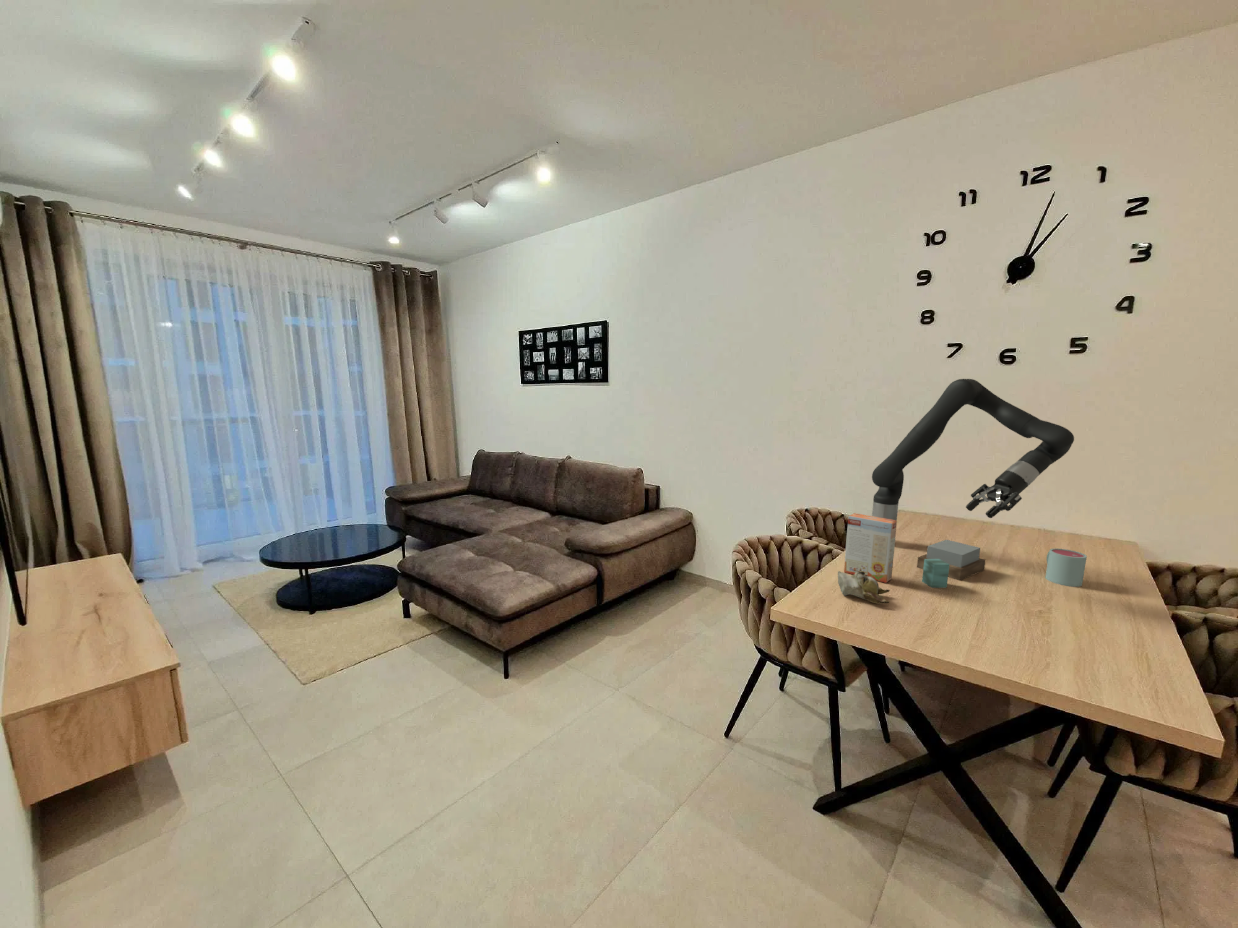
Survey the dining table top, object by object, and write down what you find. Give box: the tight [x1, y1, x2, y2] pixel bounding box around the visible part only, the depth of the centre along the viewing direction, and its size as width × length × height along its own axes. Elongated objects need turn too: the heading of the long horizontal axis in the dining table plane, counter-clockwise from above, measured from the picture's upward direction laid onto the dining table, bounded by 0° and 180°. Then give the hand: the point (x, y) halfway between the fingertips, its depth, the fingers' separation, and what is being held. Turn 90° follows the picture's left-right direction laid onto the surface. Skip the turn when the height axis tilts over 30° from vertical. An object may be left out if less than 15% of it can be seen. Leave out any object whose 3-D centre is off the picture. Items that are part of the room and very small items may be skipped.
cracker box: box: [843, 512, 898, 584], centre depth 167 cm, size 14×6×21 cm, turn 45°
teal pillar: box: [921, 559, 950, 589], centre depth 161 cm, size 5×5×8 cm
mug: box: [1045, 548, 1088, 588], centre depth 166 cm, size 14×9×10 cm
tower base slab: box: [916, 553, 986, 582], centre depth 175 cm, size 14×18×4 cm
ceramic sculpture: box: [837, 570, 891, 604], centre depth 151 cm, size 11×9×15 cm
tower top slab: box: [926, 539, 981, 568], centre depth 174 cm, size 11×14×4 cm
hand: (977, 512), depth 158 cm, fingers open, 8 cm apart
